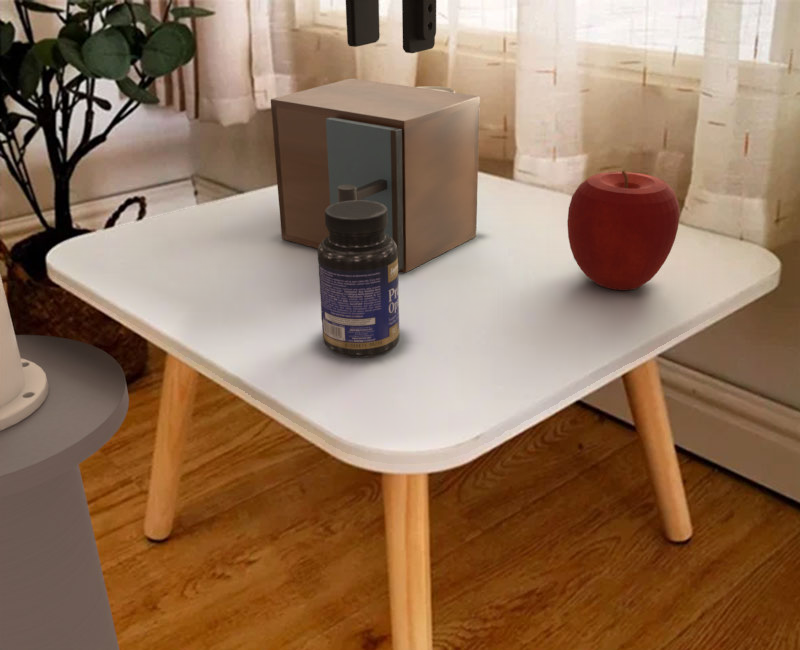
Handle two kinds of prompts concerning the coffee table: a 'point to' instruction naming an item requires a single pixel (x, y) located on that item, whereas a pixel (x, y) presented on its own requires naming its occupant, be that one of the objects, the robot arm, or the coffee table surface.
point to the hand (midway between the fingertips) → (390, 44)
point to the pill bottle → (358, 280)
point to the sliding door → (367, 169)
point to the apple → (622, 227)
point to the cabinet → (421, 160)
